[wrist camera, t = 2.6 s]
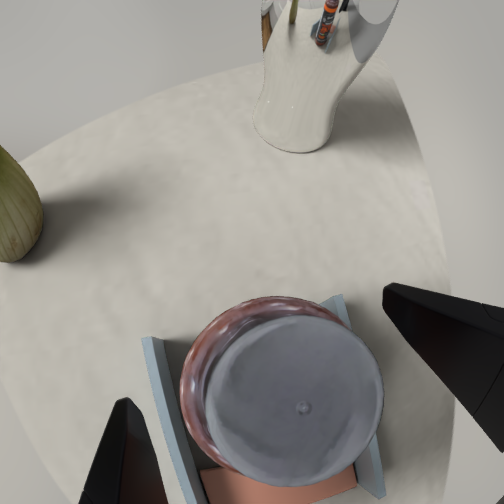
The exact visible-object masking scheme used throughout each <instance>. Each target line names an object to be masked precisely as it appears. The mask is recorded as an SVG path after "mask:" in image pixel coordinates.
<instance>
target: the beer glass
mask: <svg viewBox="0 0 504 504" xmlns="http://www.w3.org/2000/svg"><path fill="white" fill-rule="evenodd" d="M398 2H399V0H262V7H261V31H262V46H263V58H264V82H263V87H262V91H261V94H260V96H259V98H258V100H257V103H256V105H255V108H254V111H253V116H252V119H253V124H254V127H255V129H256V131H257V133H258V134H259V135H260V136H261V137H262V138H263V139H264V140H265V141H266V142H268V143H269V144H271V145H272V146H274V147H276V148H279V149H281V150H284V151H289V152H296V153H304V152H310V151H314V150H316V149H318V148H320V147H322V146H323V145H324V144H325V143H326V142H327V141H328V139H329V137H330V134H331V131H332V126H333V120H334V114H335V111H336V108H337V105H338V103H339V101H340V100H341V98H342V96H343V95H344V93H345V92H346V91H347V89H348V88H349V86H350V85H351V84H352V83H353V81H354V80H355V79H356V77H357V76H358V75H359V73H360V72H361V71H362V69H363V68H364V67H365V66H366V64H367V63H368V62H369V60H370V59H371V57H372V56H373V54H374V53H375V51H376V50H377V48H378V47H379V45H380V43H381V41H382V39H383V37H384V35H385V33H386V31H387V29H388V27H389V25H390V23H391V20H392V18H393V15H394V13H395V10H396V7H397V5H398Z"/></svg>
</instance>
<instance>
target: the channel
mask: <svg viewBox="0 0 504 504" xmlns="http://www.w3.org/2000/svg"><path fill="white" fill-rule="evenodd" d="M319 305H320V306H322V307H324V308H326V309H328V310H329V311H331V312H332V313H334V314H335V315H336V316H338V317H339V318H340V319H341V320H342V321H343V322H344V323H345V324H346V325H347V326H348V327H349V329H351V330H352V328H351V324H350V320H349V317H348V313H347V309H346V306H345V302H344V299H343V295H342V294H340V295H336V296H333V297H331V298H330V299H328V300H326V301H324V302H323V303H321V304H319ZM352 332H353V331H352ZM141 340H142V345H143V350H144V355H145V360H146V364H147V369H148V374H149V378H150V382H151V387H152V391H153V395H154V399H155V403H156V407H157V411H158V415H159V418H160V422H161V426H162V429H163V433H164V436H165V440H166V443H167V446H168V450H169V453H170V456H171V459H172V462H173V465H174V468H175V471H176V474H177V477H178V480H179V483H180V486H181V489H182V492H183V494H184V497H185V500H186V502H187V504H208V502H207V499H206V496H205V493H204V490H203V487H202V485H201V482H200V479H199V476H198V473H197V469H196V466H195V463H194V460H193V457H192V454H191V450H190V447H189V444H188V440H187V437H186V433H185V430H184V426H183V423H182V419H181V415H180V411H179V408H178V404H177V400H176V396H175V392H174V388H173V384H172V379H171V375H170V371H169V366H168V362H167V357H166V352H165V348H164V343H163V340H162V339H158V338H155V337H145V338H141ZM354 467H355V472H356V477H357V482H358V484H360V485H361V486H362V487H363V488H365V489H366V490H367V491H368V492H370V493H371V494H372V495H374V496H375V497H376V498H377V499H380V498H382V497H384V496H386V490H385V483H384V477H383V470H382V464H381V458H380V453H379V447H378V442H377V436H376V433H375V435H374V437H373V439H372V440H371V442H370V444H369V445H368V447H367V448H366V450H365V451H364V452H363V453H362V454H361V455H360V457H358V458H357V459H356V460H355V461H354ZM354 467H353V463H352V464H351V465H350V466H348V467H347V468H346V469H345V470H343V471H342V472H340V473H339V474H337V475H334V476H332V477H331V478H329V479H326V480H323V481H321V482H319V483H316V484H312V485H308V486H300V487H276V486H271V485H268V484H265V483H261V482H257V481H255V480H253V479H251V478H248V477H244V476H241V475H239V474H236V473H233V472H231V471H229V470H227V469H226V468H224V467H216V468H210V469H204V470H200V474H201V478H202V481H203V483H204V486H205V489H206V492H207V495H208V498H209V501H210V503H211V504H310V503H313V502H316V501H319V500H322V499H325V498H328V497H331V496H333V495H336V494H339V493H341V492H344V491H346V490H349V489H351V488H354V487H356V486H357V482H356V477H355V472H354Z"/></svg>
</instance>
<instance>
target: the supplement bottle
mask: <svg viewBox="0 0 504 504" xmlns="http://www.w3.org/2000/svg"><path fill="white" fill-rule="evenodd" d="M179 393H180V404H181V410H182V414H183V417H184V420H185V423H186V426H187V429H188V431H189V433H190V434H191V436H192V437H193V439H194V440H195V442H196V443H197V445H198V446H199V447H200V449H201V450H202V451H203V452H204V453H205V454H206V455H208V456H209V457H210V458H211V459H212V460H213V461H215V462H216V463H217V464H219V465H220V466H222V467H224V468H226V469H227V470H229V471H231V472H233V473H236V474H239V475H241V476H244V477H248V478H251V479H253V480H255V481H257V482H261V483H265V484H268V485H271V486H276V487H300V486H308V485H312V484H316V483H319V482H321V481H323V480H326V479H329V478H331V477H332V476H334V475H337V474H339V473H340V472H342V471H343V470H345V469H346V468H347V467H348V466H350V465H351V464H352V463H353V462H354V461H355V460H356V459H357V458H358V457H360V455H361V454H362V453H363V452H364V451H365V450H366V448H367V447H368V445H369V444H370V442H371V440H372V439H373V437H374V435H375V433H376V431H377V429H378V426H379V423H380V420H381V416H382V411H383V406H384V388H383V379H382V375H381V372H380V368H379V365H378V363H377V360H376V359H375V357H374V355H373V353H372V352H371V350H370V349H369V348H368V347H367V345H366V344H365V343H364V342H363V341H362V340H361V339H360V338H359V337H358V336H357V335H356V334H355V333H353V332H352V330H351V329H349V327H348V326H347V325H346V324H345V323H344V322H343V321H342V320H341V319H340V318H339V317H338V316H336V315H335V314H334V313H332V312H331V311H329V310H328V309H326V308H324V307H322V306H320V305H317V304H316V303H314V302H311V301H307V300H303V299H298V298H293V297H283V296H270V297H261V298H257V299H251V300H249V301H246V302H243V303H241V304H239V305H237V306H235V307H233V308H231V309H229V310H227V311H225V312H224V313H222V314H221V315H219V316H218V317H216V318H215V319H214V320H213V321H212V322H211V323H210V324H209V325H208V326H207V327H206V328H205V329H204V330H203V331H202V332H201V333H200V335H199V336H198V337H197V339H196V340H195V341H194V343H193V345H192V347H191V349H190V350H189V353H188V354H187V356H186V359H185V361H184V364H183V369H182V373H181V379H180V392H179Z"/></svg>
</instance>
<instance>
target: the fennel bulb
mask: <svg viewBox="0 0 504 504" xmlns="http://www.w3.org/2000/svg"><path fill="white" fill-rule="evenodd" d="M42 225H43V209H42V204H41V201H40V198H39V195H38V192H37V191H36V189H35V187H34V185H33V183H32V181H31V180H30V179H29V177H28V176H27V174H26V173H25V171H24V170H23V168H22V167H21V166H20V165H19V164H18V163H17V161H16V160H14V159H13V157H11V155H10V154H9V153H8V152H7V151H6V150H5V149H4V148H2V147H1V145H0V262H6V263H10V262H15V261H16V260H20V259H21V258H22V257H24V255H25V254H26V253H28V252H29V251H30V249H31V248H32V247H33V246H34V244H35V243H36V241H37V239H38V237H39V235H40V233H41V229H42Z"/></svg>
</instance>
